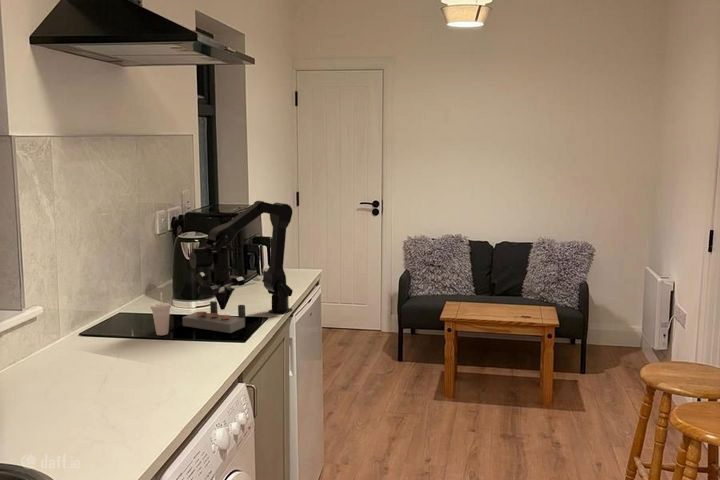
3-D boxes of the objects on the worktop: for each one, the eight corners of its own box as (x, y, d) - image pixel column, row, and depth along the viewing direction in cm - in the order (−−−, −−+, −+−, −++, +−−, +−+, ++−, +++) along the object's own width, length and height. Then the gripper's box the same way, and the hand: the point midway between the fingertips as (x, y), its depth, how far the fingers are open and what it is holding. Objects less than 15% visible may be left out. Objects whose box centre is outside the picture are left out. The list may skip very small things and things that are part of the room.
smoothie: (160, 337, 229) (158, 295, 227) (148, 334, 233) (145, 292, 231) (176, 332, 234) (174, 291, 232) (164, 329, 238) (161, 288, 236)
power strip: (198, 319, 250) (197, 311, 249) (244, 326, 241) (244, 318, 240) (182, 325, 243) (182, 317, 242) (230, 333, 234) (230, 324, 233)
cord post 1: (213, 317, 253) (213, 300, 252) (219, 318, 252) (218, 301, 251) (209, 318, 251) (208, 302, 250) (214, 319, 250) (214, 303, 249)
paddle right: (225, 317, 241) (225, 314, 241) (230, 318, 240) (230, 315, 240) (220, 318, 238) (220, 315, 238) (225, 318, 237) (225, 315, 237)
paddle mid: (213, 315, 243) (213, 313, 243) (218, 316, 242) (218, 313, 242) (208, 316, 240) (208, 313, 240) (213, 317, 240) (213, 314, 240)
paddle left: (201, 314, 245) (202, 311, 245) (206, 314, 244) (206, 312, 244) (196, 314, 243) (196, 311, 243) (201, 315, 242) (201, 312, 242)
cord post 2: (241, 321, 248) (240, 304, 247) (247, 322, 247) (246, 305, 246) (237, 322, 246) (236, 306, 245) (242, 323, 245) (242, 306, 244)
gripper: (219, 258, 255) (220, 301, 257) (184, 268, 239) (186, 313, 241) (244, 261, 250) (246, 304, 253) (210, 270, 234) (212, 317, 236)
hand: (222, 309), depth 246 cm, fingers closed
